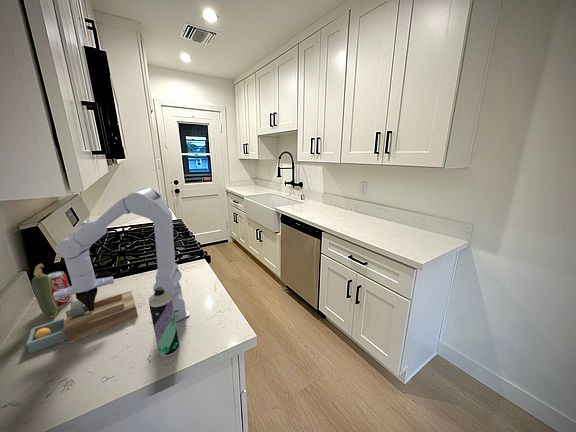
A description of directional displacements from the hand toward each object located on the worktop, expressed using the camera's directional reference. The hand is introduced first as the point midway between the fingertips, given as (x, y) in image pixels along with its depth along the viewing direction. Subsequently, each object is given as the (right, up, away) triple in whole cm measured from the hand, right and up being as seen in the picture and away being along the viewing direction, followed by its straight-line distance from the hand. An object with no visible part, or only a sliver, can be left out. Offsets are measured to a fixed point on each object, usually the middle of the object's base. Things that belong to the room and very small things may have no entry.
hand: (91, 309), depth 77 cm
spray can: (+30, -8, -9) cm, 33 cm away
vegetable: (-17, -4, +4) cm, 18 cm away
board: (+2, -4, +3) cm, 6 cm away
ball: (-9, -5, -7) cm, 12 cm away
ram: (-2, -1, -2) cm, 3 cm away
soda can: (-21, -2, +11) cm, 24 cm away
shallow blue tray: (-8, -7, -5) cm, 12 cm away
